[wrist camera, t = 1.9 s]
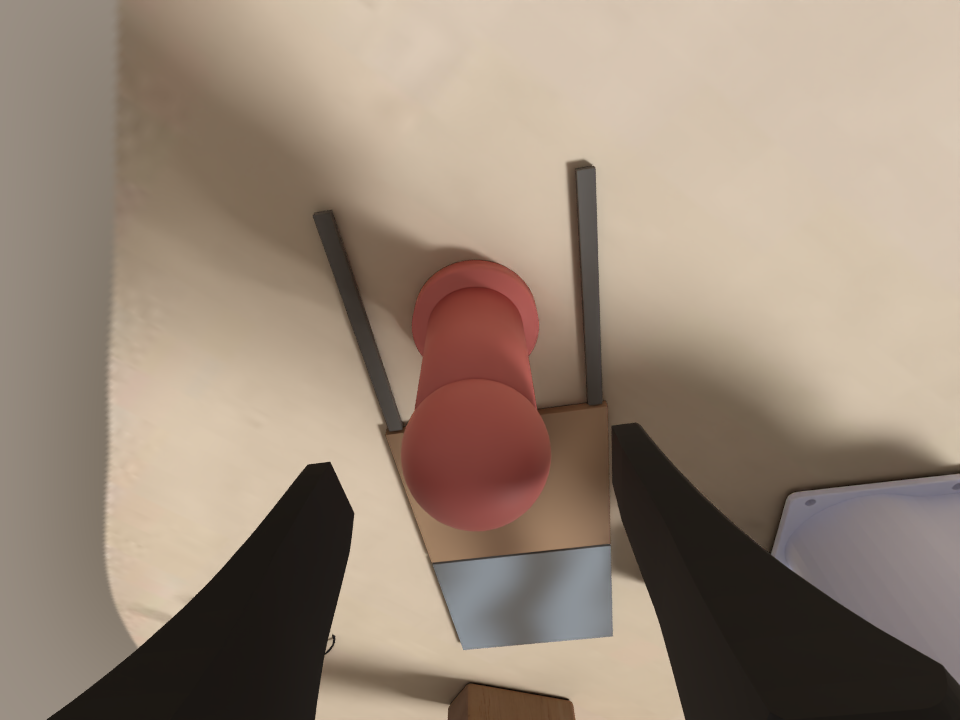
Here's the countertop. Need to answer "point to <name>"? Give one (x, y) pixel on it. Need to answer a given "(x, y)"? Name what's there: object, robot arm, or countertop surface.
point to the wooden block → (507, 705)
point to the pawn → (475, 399)
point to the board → (554, 515)
